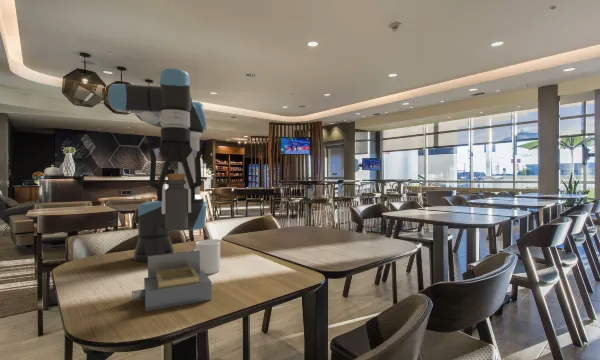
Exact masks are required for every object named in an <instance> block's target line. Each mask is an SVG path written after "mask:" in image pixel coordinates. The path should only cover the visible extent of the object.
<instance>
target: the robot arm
mask: <svg viewBox="0 0 600 360" xmlns="http://www.w3.org/2000/svg"><path fill="white" fill-rule="evenodd" d="M159 85H160V86H158V85H157V86H156V85H139V84H138V85H137V84H127V83H112V84H111V85H109V88H108V94H107V95H108V103H109V106H110V107H111V109H112V110H114V111H119V112H131V113H132V114H135V115H137V116H138V117H139V118H140V120H141V121H142V122H144V123H146V124H147V125H150V126H154V127H157V128H160V145H159V146H158V148H153V149H152V148H151V149H149V150H148V154H149V158H150V167H149V187H151V188H155V189H156V200H154V201H147V202H144V203H141V204H140V205H139V206H138V211H137V212H138V214H137V220H138V221H137V225H138V226H137V227H138V230H137V233H138V239H137V244H136V246H135V249H134V253H133V260H134V261H135V262H139V263H142V262H144V263H146V262H147V263H148V256H154V255H164V254H173V253H175V249H174V246H173V243H172V240H171V238H170V232H177V231H178V232H180V231H197V230H202V229H203V228H204V227H205V222H206V214H207V207H208V202H206V201H205V199H204V197H203V196H202V195H201V186H202V183H203V182H202V181H203V180H202V167H201V157H202V154H203V151H202V150H200V138H201V137H202V136H203V135H204V131H206V130H207V124H206V115H205V107H204V105H203V103H201V101H193V99H192V96H191V87H190V86H191V81H190V74H189V73H188V72H187V71H185V70H183V69H179V68H164V69H162V70H161V71H160V78H159ZM159 153H160V154H161V155H162V156H163V158H164V159H165V160H164V162H163V166H162V170H161V173H160V175H159V178H158V182H157V183H156V170H157V169H156V168H157V158H158V156H159ZM174 162H176V163H177V174H185V178H184V180H186V184H184V188H185V189H187V192H188V228H187V229H183V230H166V229H165V214H166V211H165V190H166V189H165V188H163V186H164V184H165V182H166V177H167V174H168V171H169V168H170V165H171V163H174Z"/></svg>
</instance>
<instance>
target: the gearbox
mask: <svg viewBox="0 0 600 360" xmlns="http://www.w3.org/2000/svg"><path fill="white" fill-rule="evenodd" d="M143 283H144V284H143V285H144V286H143V289H137V290H131V301H137V300H138V301H139V300H144V307H145V312H146V313H147V312H152V311H158V310H163V309H169V308H175V307H176V308H177V307H180V306H184V305H185V306H186V305H190V304H197V303H202V302H208V301H212V280H211V279H210V278H209V276H208V274H207V275H206V274H205V272H204V271H203V270H200V251H194V250H191V251H183V252H176V253H175V252H174V253H173V254H164V255H154V256H148V262H147V277H144V278H143Z"/></svg>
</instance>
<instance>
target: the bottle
mask: <svg viewBox="0 0 600 360" xmlns="http://www.w3.org/2000/svg"><path fill="white" fill-rule="evenodd" d="M166 177H167V180H165V184H166V185H167V188H166V189H165V211H166V214H165V229H166V230H181V231H184V230H183V229H187V228H188V192H187V189H185V188H184V184H186V180H184V178H185V174H178V173H167V174H166Z"/></svg>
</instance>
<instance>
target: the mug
mask: <svg viewBox="0 0 600 360" xmlns="http://www.w3.org/2000/svg"><path fill="white" fill-rule="evenodd" d="M193 251H200V270H203V271H204V272H205V274H206V275H207V276H208V275H213V274H216V273H219V272H220V269H221V240H217V239H205V240H204V239H203V240H197V241H196V242H195V248H194V250H193Z"/></svg>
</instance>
